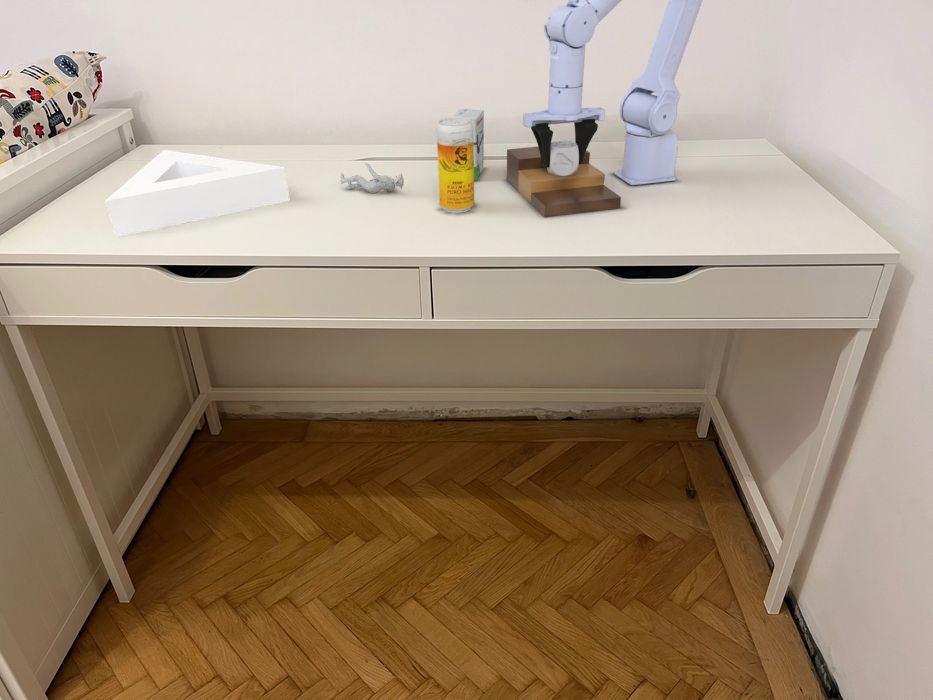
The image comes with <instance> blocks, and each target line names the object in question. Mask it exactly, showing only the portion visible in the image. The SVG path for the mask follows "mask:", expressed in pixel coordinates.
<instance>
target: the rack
mask: <svg viewBox="0 0 933 700" xmlns="http://www.w3.org/2000/svg"><path fill="white" fill-rule="evenodd" d="M590 157H591V152H590V151H588V150H586V152H585V155H584V159H583V162H582V164H578V170H577V172H576V173H575V174H573V175H570V176H555V175H551V174H550V173H548V170H547V168H546V167H544V166H543V165H542V162H541V155H540V151H539V147H538V146H529V147H517V148H508V149H506V182H508V183H509V184H510V185H511V186H512V187H513V188H514V189H515V190H516V191H517V192H518V193H520V195H521V196H522V197H523V198H524V199H525V200H526V201H527V202H529V204H530V205H531V206H533V207H534V209H536V211H537V212H539V214H540V215H542V216H543V217H544V218H548V217H549V218H550V217H557V216H565V215H566V216H567V215H573V214H574V215H575V214H582V213H591V212H599V211H608V210H616V209H621V203H622V197H621V196H620V195H619V194H617V193H616V192H615V191H614V190H612V189H611V188H609V187H608V186H607V185H605V180H606V179H605V178H606V177H605V176H606V174H605V173H604V172H603V171H601V170H600V169H599V168H597V167H595V166H594V165H593V164H592V163H590Z"/></svg>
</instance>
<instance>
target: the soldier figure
mask: <svg viewBox="0 0 933 700" xmlns="http://www.w3.org/2000/svg"><path fill="white" fill-rule="evenodd" d="M364 165H365V166H366V167H367V169H368V172H369V173H370V175H371V176H372V178H373V179H369V180H367V179H366V178H365V177H362V176H361V175H359V174H355V175H353V176H349V177H345V174H344V173H341V174H340V184H341V185H343V184H345V183H347V187H346V188H347V190H350V189H358V188H363V189H364V190H365V191H366V192H368V193H370V194H375V193H378V192H380V191H382V190H384V191H385V190H387V191H388V192H392V191H393V190H394V189H395V188H396V187H399V188H400V189H401V190H402V189H403V187H404V185H405V181H404V176H403V173H402V172H401V173H400V174H398V175H397V176H396V175H395V176H394V177H392V176H388V175H380V174H377V173H376V172H375V171H374V169H373V168H372V166H371V165H370V164H369V162H364ZM355 182H356V183H355Z"/></svg>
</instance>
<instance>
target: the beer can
mask: <svg viewBox="0 0 933 700" xmlns="http://www.w3.org/2000/svg"><path fill="white" fill-rule="evenodd" d="M436 147H437V169H438V170H437V171H438V194H439V195H438V197H439V205H440V207H441V208H442V210H443V211H445V212H448V213H453V214H459V213H461V214H462V213H465V212H468V211H470V210H471V209H472V207H473V206H474V205H475V180H474V148H473V126H472V124H471V120H470V119H468V118H463V117H453V116H451V117H443V118H441V119H439V120H438V124H437V125H436Z"/></svg>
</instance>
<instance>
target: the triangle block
mask: <svg viewBox="0 0 933 700" xmlns="http://www.w3.org/2000/svg"><path fill="white" fill-rule="evenodd" d="M286 172H287V171H286V167H285V166H278V165H272V164H266V163H258V162H252V161H251V162H250V161H245V160H238V159H230V158H223V157H216V156H212V155H211V156H209V155H204V154H203V155H202V154H196V153H190V152H182V151H175V150H169V149H163V150H162V151H160V153H158V154H157V155H156V156H155V157H153V159H151V160H150V161H149V162H148V163H147V164H145V166H143V167H142V168H141V169H140V170H139V171H137V173H135V174H134V175H132V177H131V178H130V179H128V180H127V181H126V182H124V184H122V186H120V187H119V188H118V189H117V190H115V192H113V193H112V194H110V196H109V197H108V198H106V200H104V203H105V206H106V207H105V208H106V209H107V214H108V216H109V219H110V223H111V226H112V230H113V233H114V237H115V238H122V237H125V236H130V235H135V234H139V233H145V232H150V231H154V230H158V229H164V228H169V227H172V226H173V227H174V226H177V225H182V224H183V225H184V224H187V223H192V222H196V221H201V220H202V221H203V220H206V219H210V218H215V217H220V216H225V215H229V214H234V213H239V212H243V211H248V210H249V211H250V210H253V209H258V208H262V207H266V206H271V205H277V204H281V203H286V202H290V201H291V198H290V191H289V185H288V179H287V173H286Z"/></svg>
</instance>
